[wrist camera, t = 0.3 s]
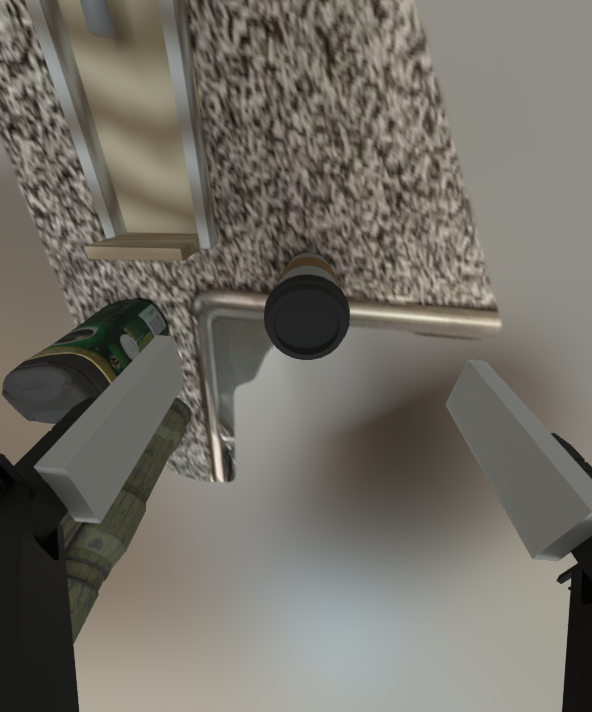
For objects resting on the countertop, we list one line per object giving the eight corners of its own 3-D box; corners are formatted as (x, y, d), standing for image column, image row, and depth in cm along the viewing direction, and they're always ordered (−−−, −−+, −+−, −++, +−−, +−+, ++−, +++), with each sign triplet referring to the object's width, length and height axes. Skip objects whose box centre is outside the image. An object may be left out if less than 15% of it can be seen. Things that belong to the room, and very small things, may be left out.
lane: (30, -64, 23) (-100, -172, 16) (176, -67, 23) (111, -179, 16) (124, 240, 37) (77, 258, 29) (218, 242, 36) (194, 261, 29)
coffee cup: (342, 299, 40) (355, 358, 27) (284, 308, 41) (272, 369, 28) (335, 237, 35) (348, 274, 23) (271, 249, 36) (250, 291, 24)
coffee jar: (124, 348, 46) (30, 438, 31) (96, 304, 42) (-30, 382, 26) (178, 339, 45) (107, 429, 29) (155, 293, 40) (58, 368, 25)
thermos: (154, 431, 57) (-9, 701, 28) (136, 387, 51) (-102, 679, 22) (197, 433, 57) (76, 708, 28) (184, 388, 50) (8, 687, 21)
